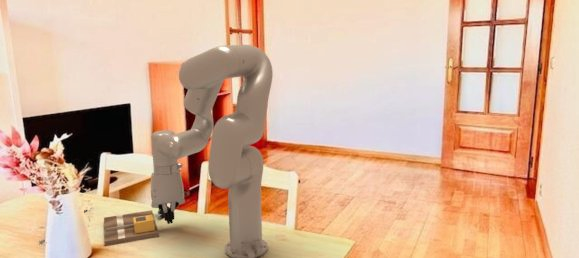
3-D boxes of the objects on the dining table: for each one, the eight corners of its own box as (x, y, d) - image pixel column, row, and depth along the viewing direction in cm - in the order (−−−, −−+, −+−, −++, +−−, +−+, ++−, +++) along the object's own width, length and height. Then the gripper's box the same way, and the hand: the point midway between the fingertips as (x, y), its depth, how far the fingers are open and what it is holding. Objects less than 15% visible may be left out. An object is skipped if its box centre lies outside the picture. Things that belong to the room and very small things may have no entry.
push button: (165, 220, 152) (163, 193, 150) (151, 219, 153) (149, 192, 151) (173, 213, 158) (172, 187, 156) (160, 212, 159) (158, 186, 157)
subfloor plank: (158, 236, 139) (158, 229, 139) (104, 246, 133) (104, 238, 133) (152, 214, 157) (151, 207, 157) (104, 221, 151) (103, 214, 151)
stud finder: (154, 230, 140) (153, 219, 139) (135, 233, 138) (134, 222, 137) (153, 224, 145) (152, 214, 144) (133, 227, 142) (133, 217, 142)
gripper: (187, 163, 147) (190, 214, 150) (140, 168, 141) (145, 221, 145) (191, 169, 140) (194, 222, 143) (142, 175, 134) (147, 230, 138)
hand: (169, 221), depth 144 cm, fingers closed
